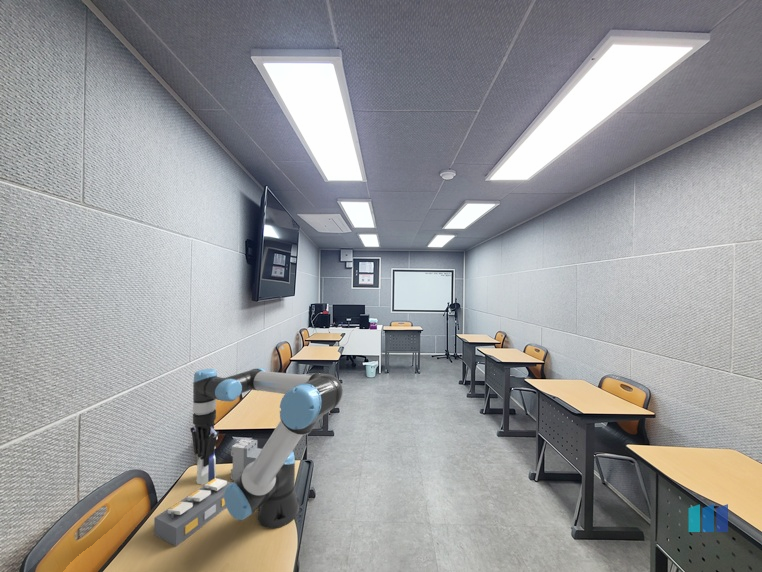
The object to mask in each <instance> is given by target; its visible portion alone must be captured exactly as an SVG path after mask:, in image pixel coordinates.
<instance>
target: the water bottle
mask: <svg viewBox="0 0 762 572" xmlns="http://www.w3.org/2000/svg"><path fill="white" fill-rule="evenodd" d="M217 440H218V436H217V439H216V441H217ZM215 449H216V446H215ZM196 459H197V462H196V463H197V465H196V466H197V467H196V468H197V469H196V484H197V485H205V484H207V483H208V482H210V481H211V480H213V479H214V478H217V470H216V469H217V467H216V464H217V463H216V459H217V458H216V455H215V453H214V454H213V455H212V456H210V457H209V465H208V473H206V474H205V475H203V476H199V457H198V454H196Z"/></svg>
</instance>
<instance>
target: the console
mask: <svg viewBox="0 0 762 572" xmlns="http://www.w3.org/2000/svg"><path fill="white" fill-rule="evenodd" d="M216 479H220V480H224V479H222V478H221V477H216ZM226 481H227V484H226V485H225V486H223V487H222V488H221V489H219V490H218V491H216V490H212V489H211V488H205V484H203V486H202V487H200V488H198V489H197V490H208V491H211V494H210V495H209V496H207V497H206V498H204V499H203V500H201V501H200V502H199V501H194V500H193V499H191V501H189V500H188V499H187V497H188V496H189V495H191V494H193V493H194V492H196V491H197V490H195V491H194V492H192V493H190V494H189V495H188V496H185V497H184V498H183V499H181V500H179V501H178V502H177V503H179V502H189V503H193V507H191V508H190V509H188V510H187V511H185V512H184V513H182V514H181V515H177V514H174V513H173V512H171V514H169V513H168V509H170V508H171V507H172V506H174V505H175V504H177V503H175V504H174V505H172V506H170V507H169V508H167V509H166V510H164V511H162V512H161V513H160V514H159V513H158V515H156V516H155V517H154V524H153V525H154V527H153V529H154V530H153V533H154V534H153V535H154V536H155V537H157V538H159V539H161V540H163V541H165V542H166V543H169V544H170V545H172V546H175V547H178V546H179V545H181V543H183V542H184V541H185V540H186V539H188V538H189V537H190V536H192V535H193V534H194V533H196V532H197V531H198V530H200V529H201V528H203V526H205V525H206V524H207V523H209V522H210V521H212V520H213V519H214V518H215V517H217V516H218V515H219V514H220V513H222V512H224V510H226V509H227V507H226V505H225V501H224V492H225V489H226V487H227V486H228V485H230V483H232V482H231V481H228V480H226Z"/></svg>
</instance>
